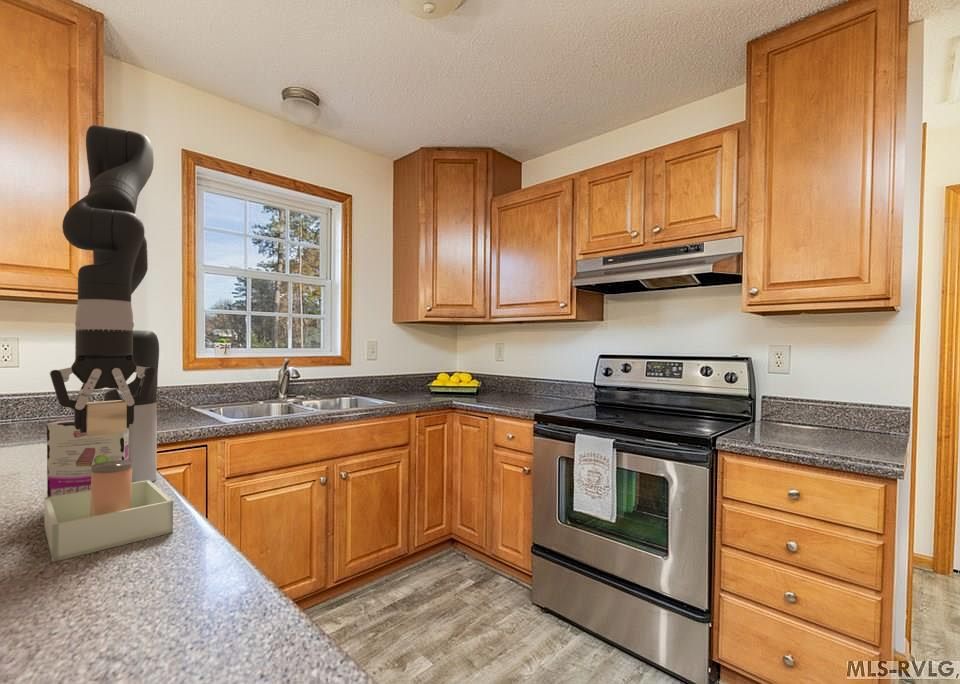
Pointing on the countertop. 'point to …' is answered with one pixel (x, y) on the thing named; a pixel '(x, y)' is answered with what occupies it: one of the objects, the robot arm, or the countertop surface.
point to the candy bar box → (78, 456)
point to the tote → (104, 521)
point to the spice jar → (111, 487)
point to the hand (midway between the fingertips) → (104, 429)
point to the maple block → (106, 417)
